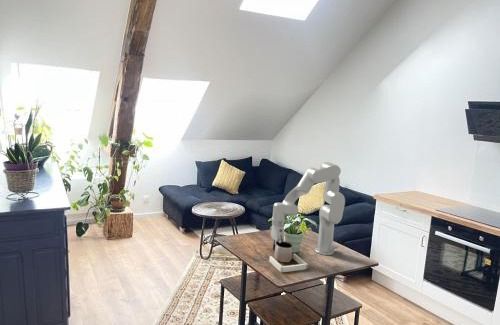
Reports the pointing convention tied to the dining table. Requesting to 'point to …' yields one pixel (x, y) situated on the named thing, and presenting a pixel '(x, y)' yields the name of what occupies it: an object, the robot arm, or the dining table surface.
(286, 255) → the planter
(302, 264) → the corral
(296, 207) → the robot arm
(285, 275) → the dining table surface
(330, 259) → the dining table surface
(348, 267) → the dining table surface
